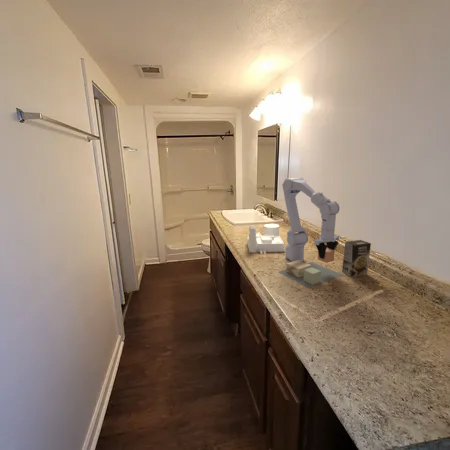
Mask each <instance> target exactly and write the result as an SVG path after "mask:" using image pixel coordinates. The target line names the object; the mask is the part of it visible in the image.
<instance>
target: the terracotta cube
mask: <svg viewBox="0 0 450 450" xmlns="http://www.w3.org/2000/svg"><path fill="white" fill-rule="evenodd" d="M335 250H336V249H335ZM335 250H332V249H329V248H327V249H326V251H325V257H324V259H322V258H320V257H319V252H318V251H317V260H319V261H321V262H323V263H331V262H333V261H335Z"/></svg>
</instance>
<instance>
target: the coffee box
mask: <svg viewBox="0 0 450 450" xmlns="http://www.w3.org/2000/svg"><path fill="white" fill-rule="evenodd" d="M371 245H372V244H371V242H367V241H365V240H362V239H358V240H348V241H345V242H344V250H343V259H342V268H341V272H342V273H343V274H345V275H347V276H348V277H350V278H354V277H360V276H367V275H368V270H369V263H370V253H371Z"/></svg>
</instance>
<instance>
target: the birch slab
mask: <svg viewBox="0 0 450 450" xmlns="http://www.w3.org/2000/svg"><path fill="white" fill-rule="evenodd" d="M307 263H308V262H304V261H300V260H296V261H290V262H287V263H285V264H286V265H285V267H286V268H285V270H286V271H287V272H289V273H291V274H293V275H295V276H297V277H301V276H304V270H305V269H308V268H311V265H310V264H307Z"/></svg>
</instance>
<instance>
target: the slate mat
mask: <svg viewBox="0 0 450 450" xmlns="http://www.w3.org/2000/svg"><path fill="white" fill-rule="evenodd" d="M306 263H307V264H310V265H311V268H315V269H317V270H319V271H321V279H320V282H318V283H316V284H313V285H312V284H310V283H308V282H306V281H304V276H301V277H297V276H295V275H293V274H291V273H289V272H287V271H286V269H282V270H279V271H278V274H281V275H282V276H285V277H287V278H288V279H290V280H292V281H295V282H296V283H299V284H300V285H302V286H304V287H305V288H308V289H309V288H312V287H314V286H317V285H320V284H323V283H326V282H328V281H330V280H334V279H337V278H340V277H342V276H344V273H343V274H342V273H340V272H337V271H335V270H333V269H330V268H328V267H326V266H323V265H320V264H318V263H315V262H313V261H309V262H306Z"/></svg>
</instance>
